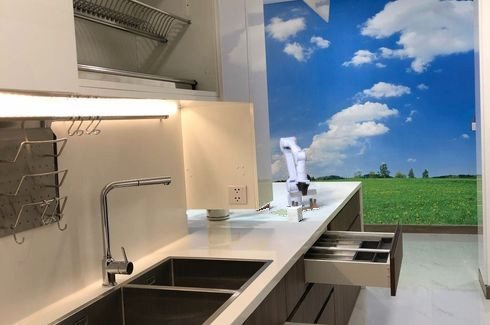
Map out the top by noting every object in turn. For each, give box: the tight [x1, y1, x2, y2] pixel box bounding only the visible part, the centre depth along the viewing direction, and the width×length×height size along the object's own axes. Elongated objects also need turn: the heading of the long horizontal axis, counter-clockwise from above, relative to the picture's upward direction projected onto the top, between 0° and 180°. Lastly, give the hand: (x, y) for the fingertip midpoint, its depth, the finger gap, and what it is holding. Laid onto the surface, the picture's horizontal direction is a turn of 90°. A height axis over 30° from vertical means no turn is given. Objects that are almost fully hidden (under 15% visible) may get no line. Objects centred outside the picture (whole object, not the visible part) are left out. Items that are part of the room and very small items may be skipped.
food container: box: [255, 202, 271, 211], centre depth 310 cm, size 12×6×10 cm, turn 130°
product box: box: [286, 207, 304, 223], centre depth 266 cm, size 6×6×7 cm
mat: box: [270, 208, 288, 217], centre depth 294 cm, size 20×9×1 cm, turn 22°
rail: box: [290, 188, 318, 198], centre depth 298 cm, size 16×3×3 cm, turn 112°
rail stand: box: [292, 197, 320, 211], centre depth 298 cm, size 8×15×6 cm, turn 112°
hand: (303, 195), depth 298 cm, fingers closed on rail, 3 cm apart
